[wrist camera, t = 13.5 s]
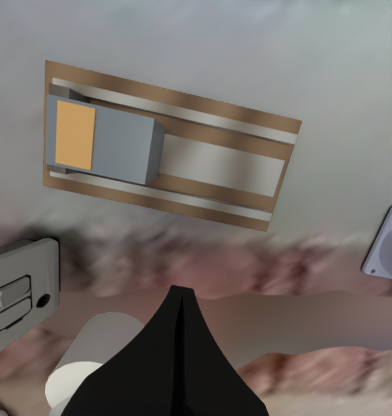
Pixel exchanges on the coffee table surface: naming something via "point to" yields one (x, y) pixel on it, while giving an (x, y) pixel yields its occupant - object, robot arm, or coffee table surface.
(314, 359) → the coffee table surface
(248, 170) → the din rail board
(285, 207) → the coffee table surface
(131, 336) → the cylinder with rectangular tab
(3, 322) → the electrical switch
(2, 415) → the ring around a ball
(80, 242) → the coffee table surface
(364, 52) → the coffee table surface
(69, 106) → the block
